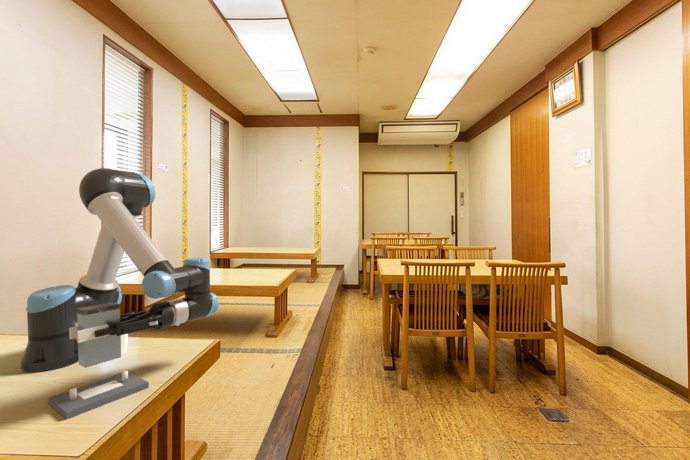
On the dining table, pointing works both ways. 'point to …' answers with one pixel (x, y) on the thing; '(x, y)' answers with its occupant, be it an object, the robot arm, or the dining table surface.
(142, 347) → the dining table surface
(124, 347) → the white cylinder
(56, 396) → the slotted base plate
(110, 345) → the block
